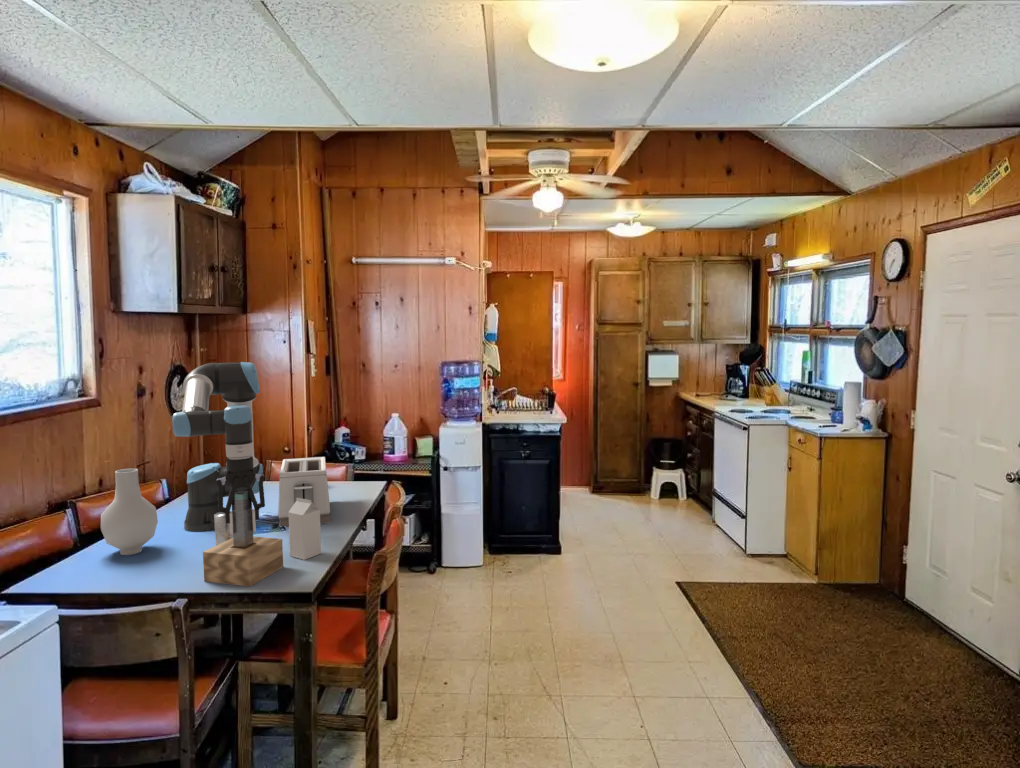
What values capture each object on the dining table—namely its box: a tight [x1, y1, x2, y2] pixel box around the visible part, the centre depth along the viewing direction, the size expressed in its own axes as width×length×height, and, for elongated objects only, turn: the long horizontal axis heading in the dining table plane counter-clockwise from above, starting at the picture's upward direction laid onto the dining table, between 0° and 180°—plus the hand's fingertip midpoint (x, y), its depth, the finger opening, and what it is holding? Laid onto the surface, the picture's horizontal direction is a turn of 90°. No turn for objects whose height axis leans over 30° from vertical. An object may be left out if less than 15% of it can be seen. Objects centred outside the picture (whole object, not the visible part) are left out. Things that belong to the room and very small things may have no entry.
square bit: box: [231, 491, 254, 547], centre depth 195 cm, size 4×4×16 cm
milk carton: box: [288, 498, 322, 561], centre depth 212 cm, size 7×7×19 cm
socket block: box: [202, 535, 284, 587], centre depth 196 cm, size 16×16×9 cm
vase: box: [100, 468, 159, 556], centre depth 216 cm, size 17×16×28 cm
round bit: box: [214, 512, 233, 546], centre depth 213 cm, size 6×6×14 cm
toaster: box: [277, 456, 332, 528], centre depth 258 cm, size 19×34×21 cm, turn 17°
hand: (243, 531), depth 195 cm, fingers closed on square bit, 6 cm apart
